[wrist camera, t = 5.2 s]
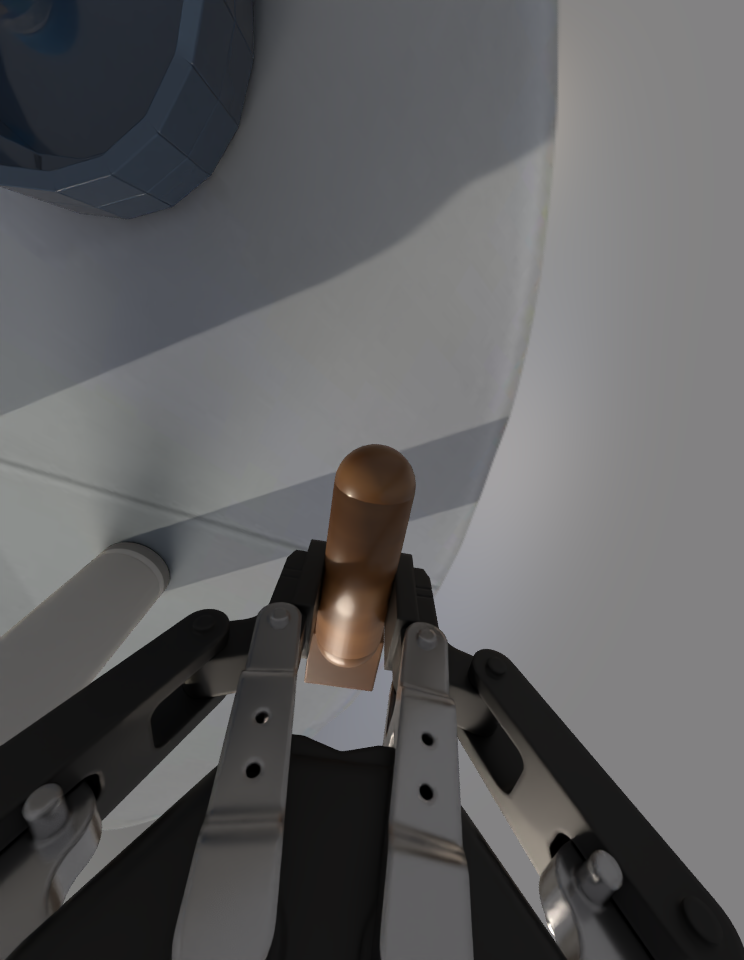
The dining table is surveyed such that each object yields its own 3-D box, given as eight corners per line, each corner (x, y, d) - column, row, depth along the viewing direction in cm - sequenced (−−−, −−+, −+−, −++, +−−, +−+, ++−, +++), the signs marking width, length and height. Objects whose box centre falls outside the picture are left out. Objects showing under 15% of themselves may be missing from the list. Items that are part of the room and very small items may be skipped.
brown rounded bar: (338, 427, 12) (327, 453, 10) (425, 441, 12) (435, 470, 10) (309, 659, 17) (297, 715, 15) (373, 668, 17) (371, 724, 15)
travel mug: (87, 544, 33) (-284, 829, 15) (156, 537, 32) (-138, 825, 14) (115, 598, 35) (-172, 899, 17) (180, 593, 35) (-44, 897, 17)
